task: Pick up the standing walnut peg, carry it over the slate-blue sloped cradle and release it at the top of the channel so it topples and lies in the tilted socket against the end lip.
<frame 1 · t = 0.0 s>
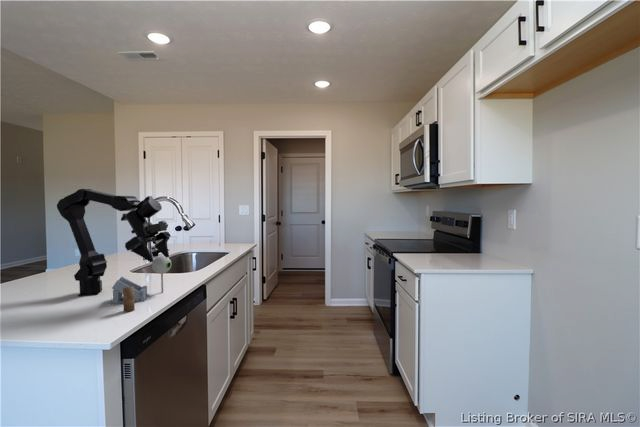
hand: (160, 259, 123), 15 cm above the table, tool tilted 35°, fingers open, 9 cm apart
lollipop: (162, 293, 130), on the table
peg: (129, 310, 110), on the table
cradle: (127, 299, 121), on the table
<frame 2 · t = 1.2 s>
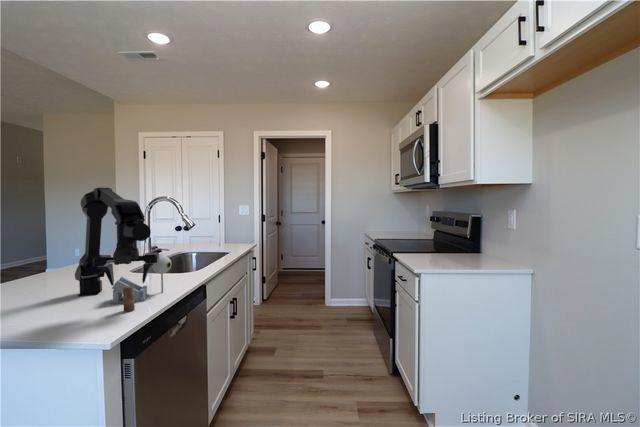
hand: (128, 284, 109), 9 cm above the table, tool pointing down, fingers open, 9 cm apart
nothing on the table moved.
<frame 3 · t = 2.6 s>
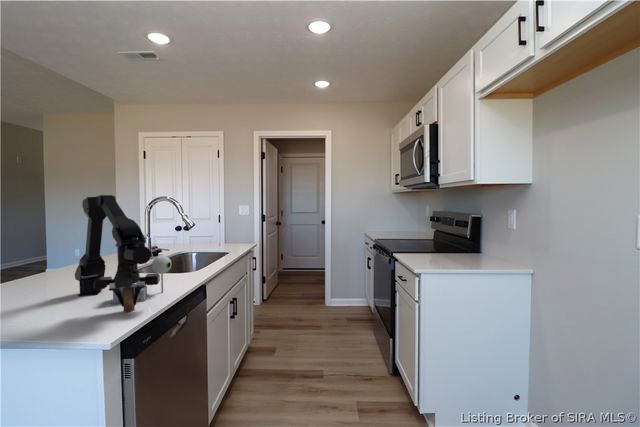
hand: (129, 305, 109), 2 cm above the table, tool pointing down, fingers closed on peg, 3 cm apart
peg: (129, 310, 110), on the table, touching gripper
everything else where it was.
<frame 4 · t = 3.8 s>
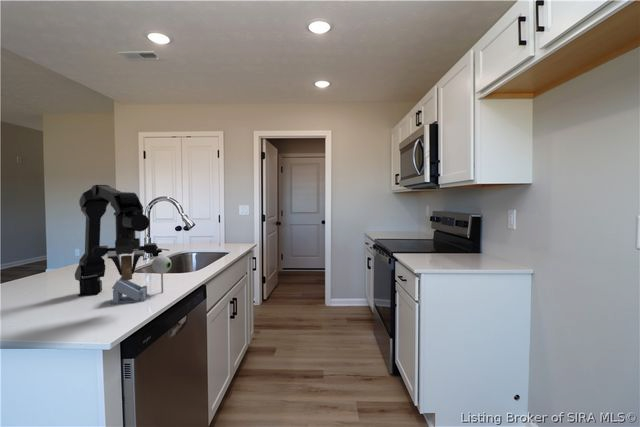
hand: (126, 274, 110), 12 cm above the table, tool pointing down, fingers closed on peg, 3 cm apart
peg: (126, 279, 110), point 10 cm above the table, touching gripper
everything else where it was.
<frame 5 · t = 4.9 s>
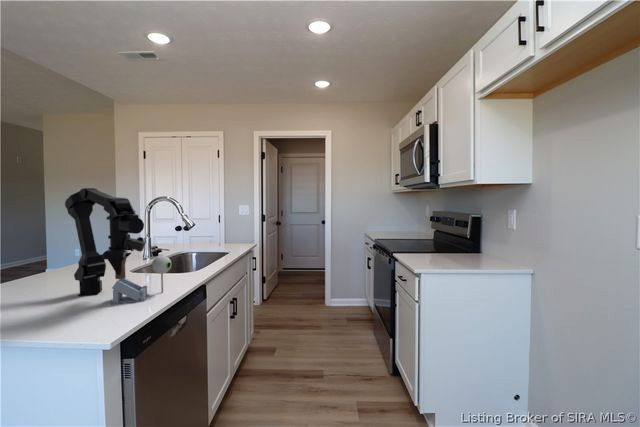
hand: (120, 273, 120), 10 cm above the table, tool pointing down, fingers closed on peg, 3 cm apart
peg: (120, 278, 120), point 8 cm above the table, touching gripper
everything else where it was.
when the fingers open (9 cm above the table, at t = 5.3 s): peg drops 1 cm and tips over, resting on cradle.
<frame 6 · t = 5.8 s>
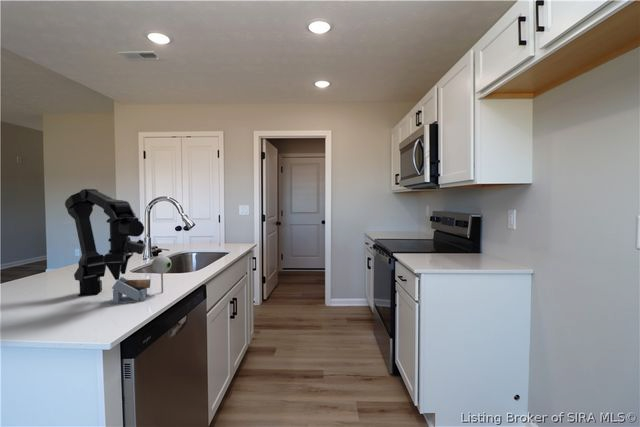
hand: (120, 276, 120), 9 cm above the table, tool pointing down, fingers open, 9 cm apart
peg: (125, 284, 120), point 6 cm above the table, tilted 93°, touching cradle
everything else where it was.
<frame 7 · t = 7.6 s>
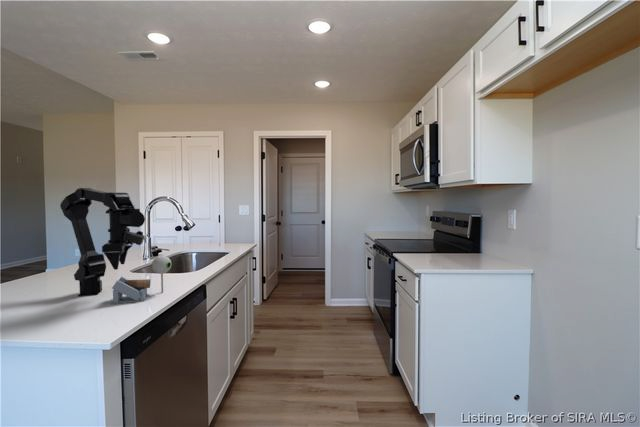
hand: (119, 266, 122), 12 cm above the table, tool pointing down, fingers open, 9 cm apart
nothing on the table moved.
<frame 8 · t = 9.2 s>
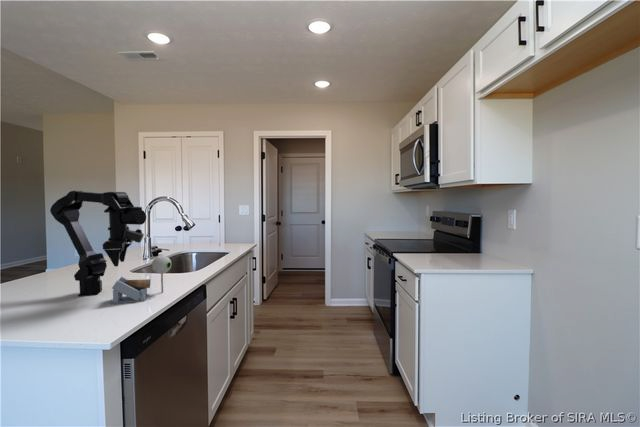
hand: (119, 264, 125), 13 cm above the table, tool pointing down, fingers open, 9 cm apart
nothing on the table moved.
at the end: peg inside the target area on the cradle (2.0 cm from its centre), point 6.0 cm above the cradle's base; peg tilted 93°; the gripper is holding nothing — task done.
